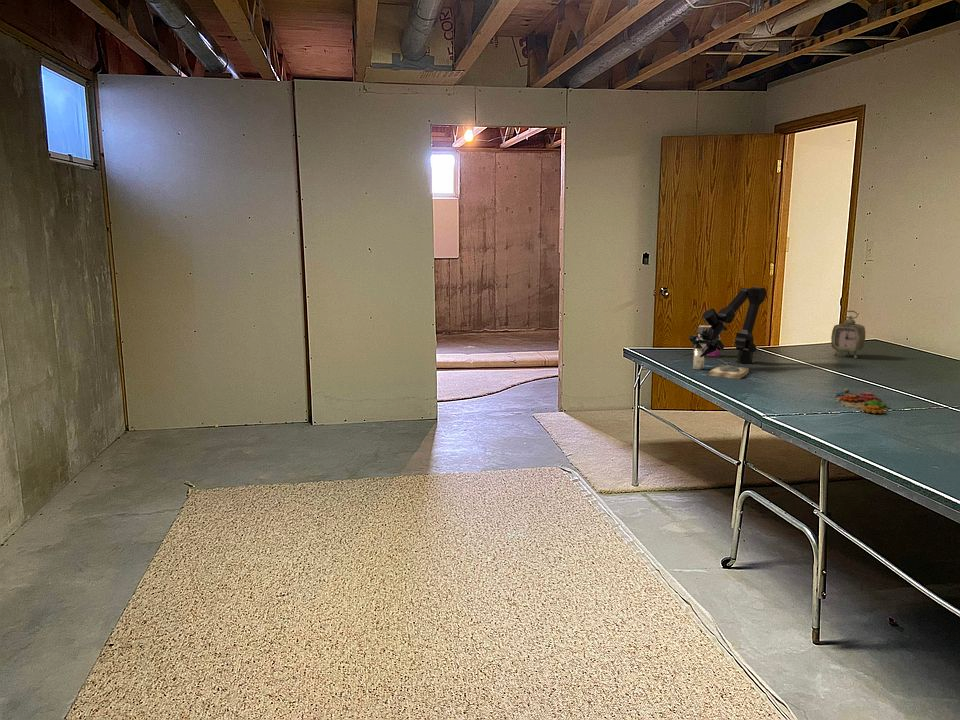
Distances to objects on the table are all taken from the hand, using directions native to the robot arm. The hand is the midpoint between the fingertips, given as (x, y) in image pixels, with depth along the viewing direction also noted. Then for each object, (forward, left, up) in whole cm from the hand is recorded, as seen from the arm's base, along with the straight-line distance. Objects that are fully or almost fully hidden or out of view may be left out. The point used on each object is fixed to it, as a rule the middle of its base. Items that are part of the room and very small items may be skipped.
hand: (696, 355), depth 341 cm
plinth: (-9, +14, -7) cm, 18 cm away
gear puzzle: (-27, +78, -8) cm, 83 cm away
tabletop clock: (-97, -12, -7) cm, 97 cm away
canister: (-1, 0, -7) cm, 7 cm away
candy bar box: (-26, -32, -7) cm, 41 cm away
